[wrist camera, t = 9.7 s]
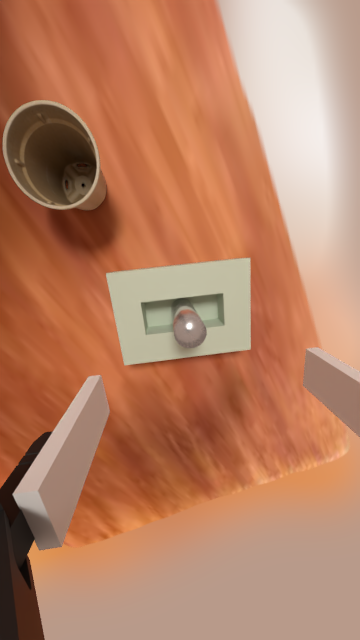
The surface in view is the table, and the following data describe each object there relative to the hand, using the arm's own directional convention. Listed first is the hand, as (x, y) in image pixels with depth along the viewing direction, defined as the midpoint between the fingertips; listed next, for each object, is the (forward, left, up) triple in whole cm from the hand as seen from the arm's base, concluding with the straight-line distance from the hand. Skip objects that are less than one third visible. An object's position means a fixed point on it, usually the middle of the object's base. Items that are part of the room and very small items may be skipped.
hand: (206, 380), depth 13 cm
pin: (0, 0, -22) cm, 22 cm away
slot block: (0, 0, -23) cm, 23 cm away
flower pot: (-19, -12, -23) cm, 32 cm away
